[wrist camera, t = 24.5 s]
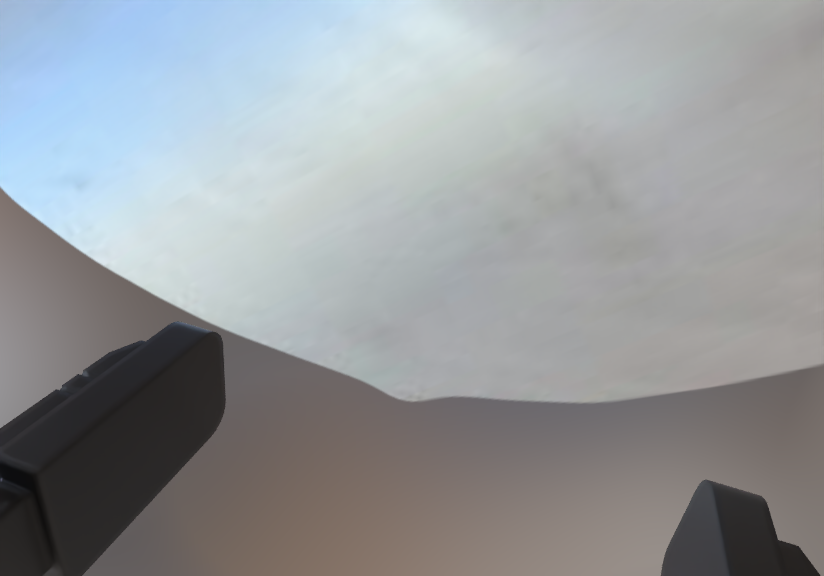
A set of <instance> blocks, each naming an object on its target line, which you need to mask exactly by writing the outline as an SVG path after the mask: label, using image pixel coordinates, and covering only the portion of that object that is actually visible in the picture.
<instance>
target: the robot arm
mask: <svg viewBox="0 0 824 576" xmlns="http://www.w3.org/2000/svg"><path fill="white" fill-rule="evenodd" d="M225 400H226V399H225V378H224V358H223V342H222V338H221V336H220V335H219V334H218V333H216V332H213V331H210V330H206V329H203V328H200V327H196V326H193V325H190V324H186V323H183V322H174V323H171V324H170V325H168V326H167V327H165V328H164V329H162V330H161V331H160V332H158V333H157V334H156V335H154V336H153V337H151V338H150V339H149V340H147V341H146V342H145V341H138V342H136V343H133V344H131V345H128V346H125V347H123V348H120V349H117V350H115V351H112V352H109V353H108V354H106V355H105V356H104V357H102V358H101V359H99V360H98V361H96V362H95V363H93V364H92V365H91V366H89V367H88V368H86V369H85V370H84V371H83V374H82V375H79V374H78V375H77V376H75V377H74V378H72V379H71V380H69V381H68V382H66V383H65V384H63V385H62V388H61V389H60V390H55V391H53V392H52V393H50V394H49V395H48V396H46V397H45V398H43V399H42V400H40V401H39V402H38V403H36V404H35V405H33V406H32V407H30V408H29V409H27V410H26V411H25V412H23V413H22V414H20V415H19V416H17V417H16V418H15V419H13V420H12V421H10V422H9V423H7V424H6V425H4V426H3V427H2V428H0V576H82V575H83V574H84V573H85V572H86V571H87V570H88V569H89V567H90V566H91V565H92V564H93V563H94V562H95V561H96V560H97V559H98V558H99V557H100V556H101V555H102V554H103V552H104V551H105V550H106V549H107V548H108V547H109V546H110V545H111V544H112V543H113V542H114V541H115V540H116V538H117V537H118V536H119V535H120V534H121V533H122V532H123V531H124V530H125V529H126V528H127V526H129V524H130V523H131V522H132V521H133V520H134V519H135V518H136V517H137V516H138V515H139V514H140V513H141V512H142V511H143V509H144V508H145V507H146V506H147V505H148V504H149V503H150V502H151V501H152V500H153V499H154V498H155V496H156V495H157V494H158V493H159V492H160V491H161V490H162V489H163V488H164V487H165V486H166V485H167V484H168V482H169V481H170V480H171V479H172V478H173V477H174V476H175V475H176V474H177V473H178V472H179V470H181V468H182V467H183V466H184V465H185V464H186V463H187V462H188V461H189V460H190V459H191V458H192V457H193V456H194V454H195V453H196V452H197V451H198V450H199V449H200V448H201V447H202V446H203V445H204V443H205V442H206V441H207V440H208V439H209V438H210V437H211V436H212V435H213V434H214V432H215V431H216V429H217V427H218V426H219V424H220V422H221V419H222V417H223V413H224V409H225ZM661 576H820V574H819V573H818V572H817V570H816V569H815V568H814V566H813V565H812V564H811V562H810V561H809V560H808V558H807V557H806V556H805V554H804V553H803V552H802V550H801V549H800V548H799V546H796V545H793V544H790V543H786V542H783V541H779V540H778V539H777V535H776V532H775V528H774V525H773V522H772V519H771V515H770V511H769V508H768V505H767V503H766V501H765V499H764V498H763V497H762V496H759V495H756V494H753V493H750V492H746V491H743V490H739V489H736V488H733V487H729V486H726V485H723V484H719V483H716V482H713V481H709V480H704V481H702V482H701V483H700V484H699V486H698V488H697V489H696V491H695V493H694V495H693V497H692V499H691V501H690V503H689V505H688V507H687V509H686V511H685V513H684V515H683V517H682V519H681V521H680V523H679V525H678V527H677V529H676V531H675V533H674V535H673V537H672V539H671V542H670V544H669V546H668V548H667V551H666V553H665V557H664V561H663V565H662V572H661Z"/></svg>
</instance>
